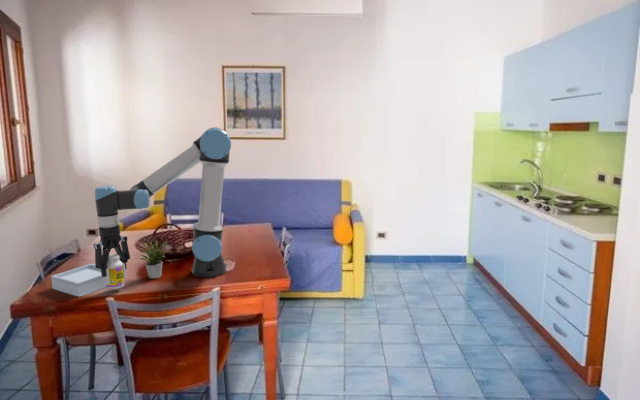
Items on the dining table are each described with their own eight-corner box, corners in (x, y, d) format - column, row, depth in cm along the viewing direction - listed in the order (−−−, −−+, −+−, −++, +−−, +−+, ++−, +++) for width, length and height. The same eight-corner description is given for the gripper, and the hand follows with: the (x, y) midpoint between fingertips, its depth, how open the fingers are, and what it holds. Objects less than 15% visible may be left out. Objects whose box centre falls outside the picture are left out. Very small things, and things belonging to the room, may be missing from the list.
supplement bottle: (118, 290, 180) (114, 259, 178) (103, 289, 181) (99, 258, 179) (128, 284, 186) (125, 254, 184) (114, 283, 188) (110, 253, 185)
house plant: (181, 272, 205) (178, 237, 202) (164, 283, 192) (161, 245, 189) (152, 269, 208) (150, 235, 205) (134, 280, 195) (131, 243, 192)
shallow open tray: (119, 282, 194) (118, 269, 193) (79, 296, 178) (77, 283, 177) (92, 275, 202) (91, 263, 201) (52, 288, 187) (50, 276, 186)
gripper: (124, 219, 189) (129, 271, 194) (79, 230, 173) (87, 287, 177) (136, 220, 186) (141, 274, 190) (92, 232, 169) (99, 290, 173)
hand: (115, 280), depth 183 cm, fingers closed on supplement bottle, 7 cm apart
